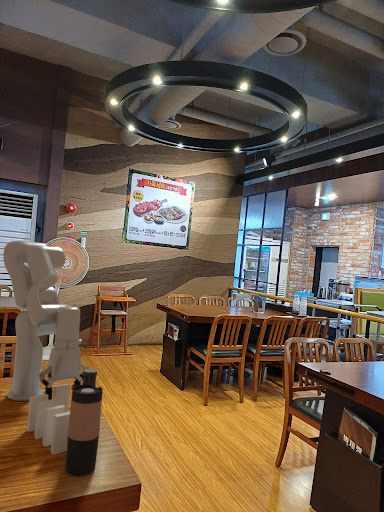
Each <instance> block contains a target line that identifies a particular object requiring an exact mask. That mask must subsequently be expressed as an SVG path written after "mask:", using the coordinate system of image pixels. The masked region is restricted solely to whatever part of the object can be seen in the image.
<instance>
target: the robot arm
mask: <svg viewBox="0 0 384 512" xmlns="http://www.w3.org/2000/svg"><path fill="white" fill-rule="evenodd" d="M2 255H3V256H2V258H3V264H4V267H5V269H6V272H7V274H8V276H9V278H10V281H11V282H10V283H11V286H12V287H11V288H12V292H13V297H14V302H15V305H16V307H17V308H18V309H19V310H25V311H22V312H20V313H19V314H17V316H16V318H15V334H16V336H15V338H16V342H15V343H16V344H15V356H14V365H13V366H14V367H13V376H12V377H13V378H12V385H11V389H10V390H8V391H7V393H6V398H8V399H10V400H12V401H19V402H23V401H25V402H26V401H27V402H28V401H30V397H31V396H37V395H42V394H47V395H48V400H53V391H54V387H52V386H53V385H54V384H55V382H57V381H64V380H70V379H75V380H74V381H73V388H74V387H75V386H78V385H82V383H83V371H84V370H86V369H90V367H88V366H86V365H83V364H82V356H81V355H82V354H81V349H80V347H79V345H80V344H82V342H83V340H82V339H81V338H80V323H81V310H80V308H78V307H76V306H71V305H69V304H66V303H63V304H62V303H61V302H60V297H59V293H58V292H57V290H56V288H55V287H54V286H55V285H56V284H57V283H58V280H59V277H58V274H57V272H56V269H62V268H63V267H64V265H65V264H66V260H67V259H66V254H65V252H64V250H63V249H62V248H61V247H60V246H56V245H52V244H49V243H43V242H37V241H36V242H35V241H27V240H13V241H9V242H8V243H7V244H5V246H4V248H3V254H2ZM26 263H27V265H26ZM47 335H50V336H51V335H54V347H53V348H51V351H50V352H49V358H48V361H47V362H48V364H47V368H45V369H43V370H42V365H43V358H44V357H43V355H44V345H43V343H42V341H41V340H40V339H39V336H47ZM81 371H82V372H81ZM45 376H46V377H47V379H46V378H45ZM41 384H43V385H44V386H45V390H43V389H42V388H41Z"/></svg>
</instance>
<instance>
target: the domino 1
mask: <svg viewBox="0 0 384 512" xmlns="http://www.w3.org/2000/svg"><path fill="white" fill-rule="evenodd" d="M47 400H48V395H47V394H45V393H44V394H42V395H37V396H31V397H30V400H29V402H28V403H29V404H28V412H27V425H26V431H27V432H28V433H31V432H35V423H36V412H37V402H42V401H47Z"/></svg>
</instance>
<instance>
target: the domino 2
mask: <svg viewBox="0 0 384 512" xmlns="http://www.w3.org/2000/svg"><path fill="white" fill-rule="evenodd" d="M55 406H56V400H54V399H53V398H52V400H47V401H42V402H37V412H36V423H35V431H34V436H33V437H34V439H35V440H38V439H43V430H44V419H45V409H46V408H50V407H55Z"/></svg>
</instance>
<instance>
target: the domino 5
mask: <svg viewBox="0 0 384 512" xmlns="http://www.w3.org/2000/svg"><path fill="white" fill-rule="evenodd" d="M69 419H70V411H68V412H66V413H61V414H57V415H54V422H53V433H52V443H51V445H50V453H51V454H52V455H53V456H55V455H57V454H61V453H64V452H67V441H68V428H69Z"/></svg>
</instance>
